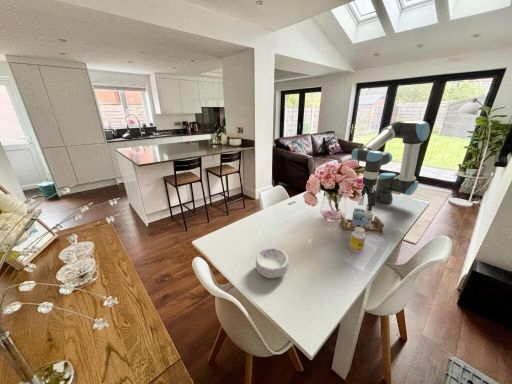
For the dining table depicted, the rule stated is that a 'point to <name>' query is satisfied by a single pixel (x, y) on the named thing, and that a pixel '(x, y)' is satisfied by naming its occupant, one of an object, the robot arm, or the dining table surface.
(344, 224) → the tray
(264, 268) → the white marbled bowl
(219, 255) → the dining table surface
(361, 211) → the light bulb box
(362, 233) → the supplement bottle
